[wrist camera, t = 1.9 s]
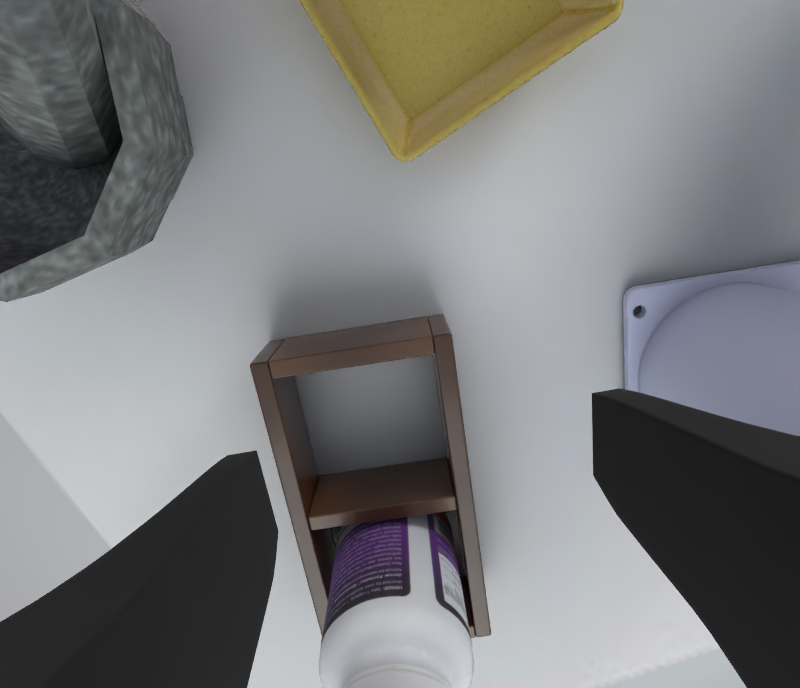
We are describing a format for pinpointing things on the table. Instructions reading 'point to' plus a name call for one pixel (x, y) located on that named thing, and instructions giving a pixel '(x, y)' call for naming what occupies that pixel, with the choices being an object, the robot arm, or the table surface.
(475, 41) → the saucer
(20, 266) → the mortar and pestle
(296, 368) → the rack
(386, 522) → the pill bottle
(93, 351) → the table surface
